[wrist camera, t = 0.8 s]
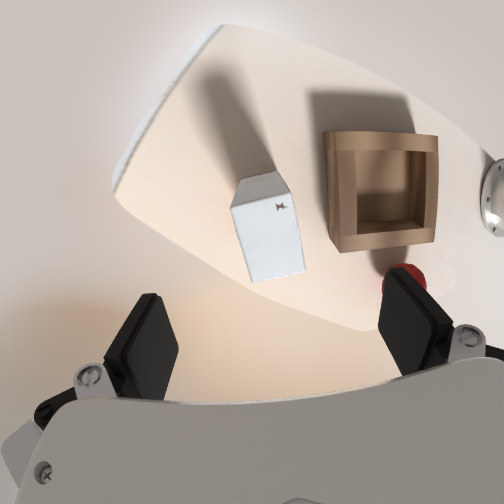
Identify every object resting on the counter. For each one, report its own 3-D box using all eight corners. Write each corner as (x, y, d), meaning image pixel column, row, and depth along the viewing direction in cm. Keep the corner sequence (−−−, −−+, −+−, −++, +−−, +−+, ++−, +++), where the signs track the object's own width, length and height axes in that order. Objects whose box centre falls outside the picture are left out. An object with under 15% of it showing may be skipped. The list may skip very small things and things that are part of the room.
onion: (409, 286, 33) (436, 319, 26) (373, 296, 34) (396, 333, 26) (410, 249, 31) (442, 278, 24) (372, 259, 32) (399, 292, 24)
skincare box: (238, 179, 28) (227, 204, 17) (277, 169, 28) (292, 189, 17) (252, 231, 30) (250, 285, 19) (289, 222, 30) (309, 272, 19)
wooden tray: (416, 134, 25) (437, 136, 21) (415, 229, 30) (433, 242, 26) (323, 132, 26) (334, 131, 22) (329, 237, 31) (340, 253, 26)
